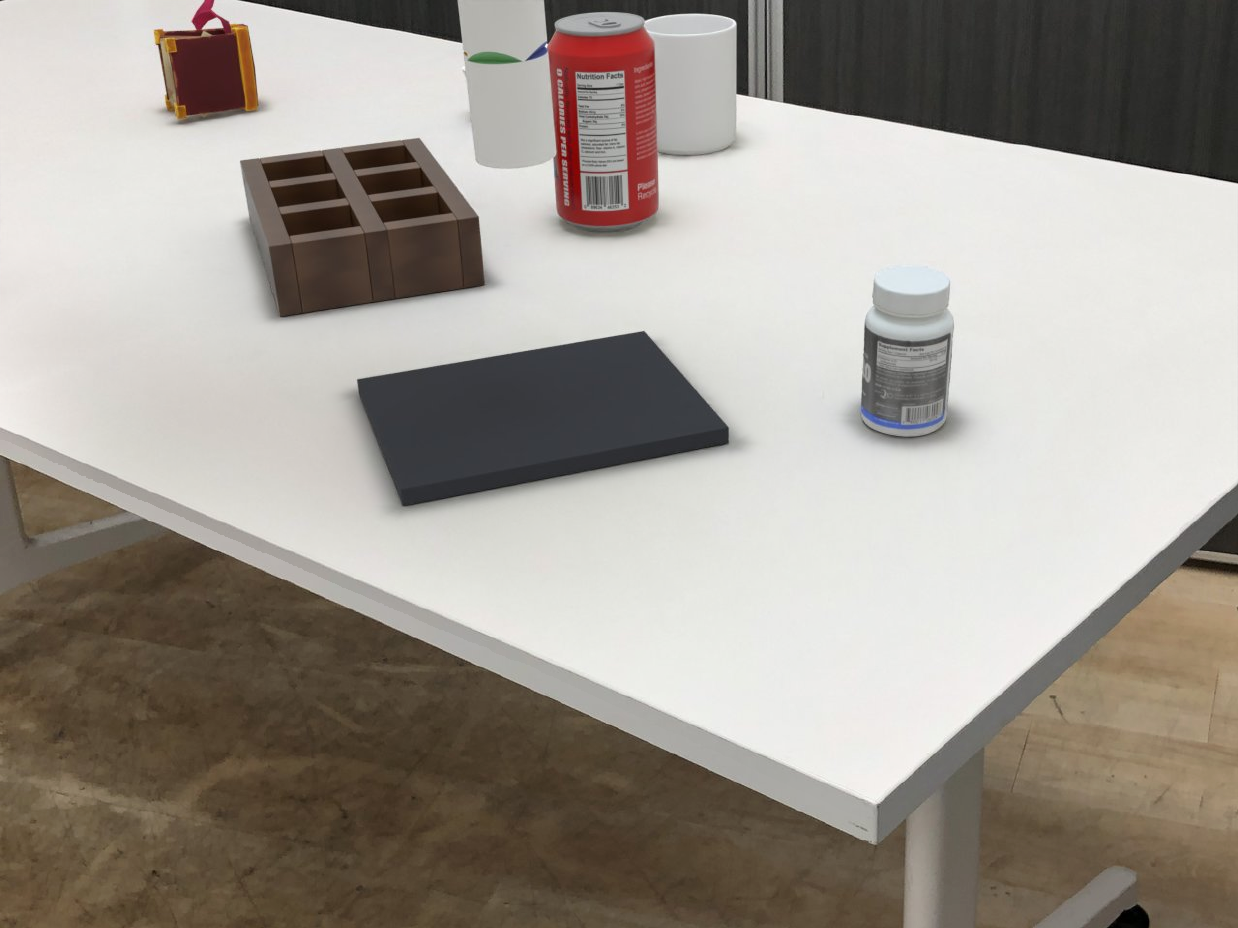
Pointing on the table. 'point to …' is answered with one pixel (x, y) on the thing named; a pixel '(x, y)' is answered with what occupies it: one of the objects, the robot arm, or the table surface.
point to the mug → (694, 82)
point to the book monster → (207, 67)
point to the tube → (508, 82)
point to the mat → (534, 416)
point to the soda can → (604, 121)
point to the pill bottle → (907, 351)
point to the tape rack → (360, 226)
